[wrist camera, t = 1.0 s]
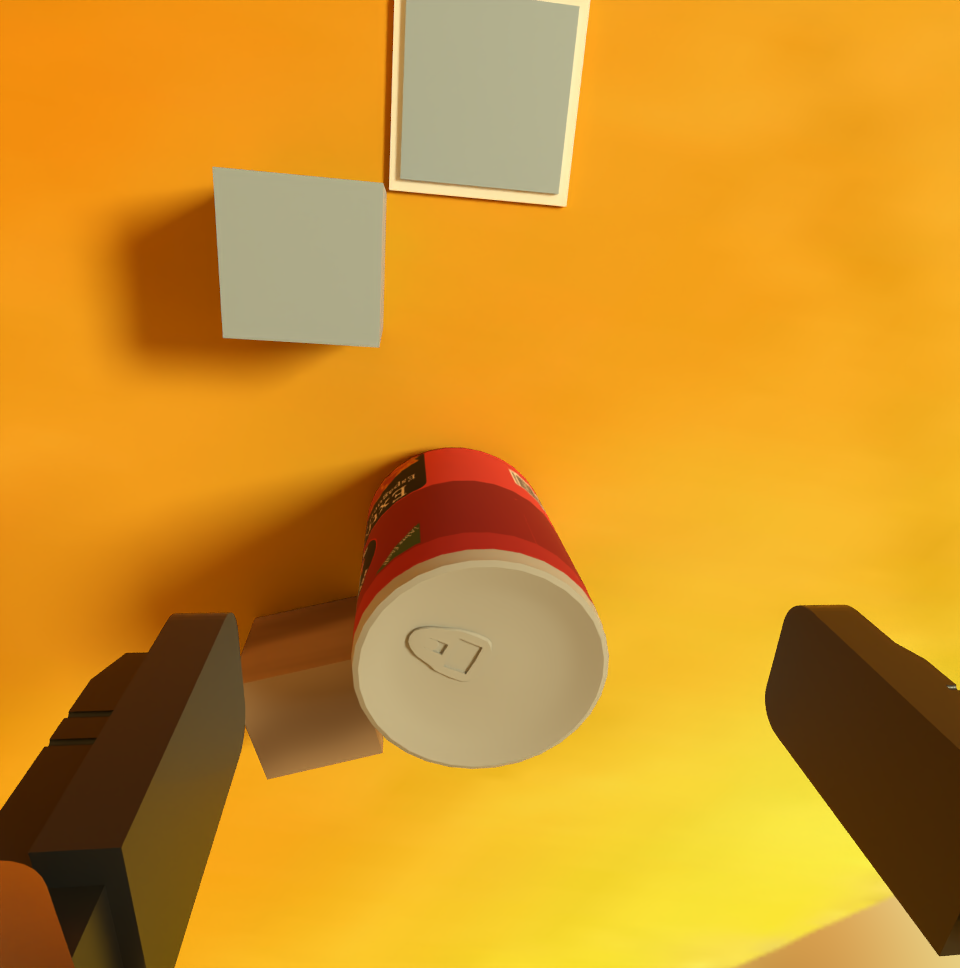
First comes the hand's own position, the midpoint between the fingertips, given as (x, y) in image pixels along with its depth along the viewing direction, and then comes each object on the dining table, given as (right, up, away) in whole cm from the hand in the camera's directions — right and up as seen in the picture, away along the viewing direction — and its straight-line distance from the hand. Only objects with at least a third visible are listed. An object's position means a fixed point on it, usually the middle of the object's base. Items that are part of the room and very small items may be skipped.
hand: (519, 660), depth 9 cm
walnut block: (-8, -5, +22) cm, 24 cm away
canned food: (-2, +1, +20) cm, 20 cm away
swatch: (0, +17, +14) cm, 22 cm away
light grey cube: (-7, +11, +16) cm, 20 cm away
